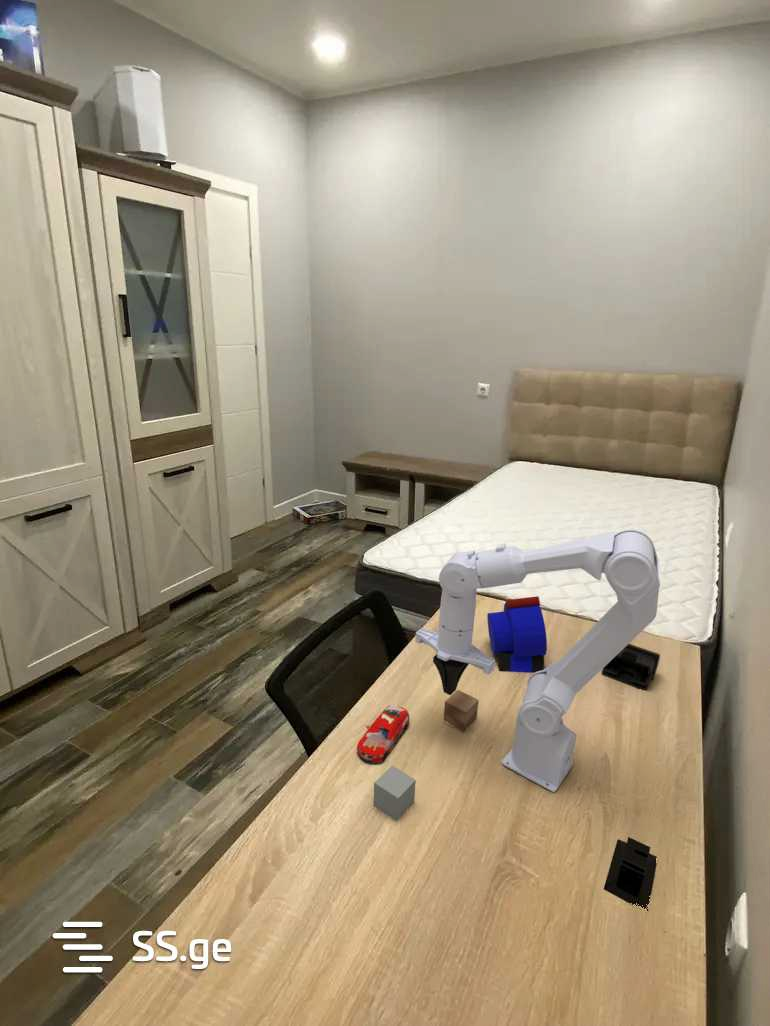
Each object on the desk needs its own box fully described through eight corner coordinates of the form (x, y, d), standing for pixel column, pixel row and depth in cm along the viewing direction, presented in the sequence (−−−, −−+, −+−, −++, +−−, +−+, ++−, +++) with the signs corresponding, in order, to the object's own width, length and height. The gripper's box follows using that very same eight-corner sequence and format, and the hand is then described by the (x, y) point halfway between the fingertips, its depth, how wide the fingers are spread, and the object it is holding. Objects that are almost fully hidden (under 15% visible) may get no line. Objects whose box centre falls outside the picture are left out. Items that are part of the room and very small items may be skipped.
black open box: (651, 929, 71) (658, 903, 70) (592, 897, 75) (597, 872, 73) (664, 854, 81) (671, 831, 80) (611, 830, 85) (617, 806, 83)
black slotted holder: (655, 676, 121) (662, 649, 119) (648, 692, 115) (654, 664, 113) (607, 659, 126) (613, 632, 124) (598, 674, 121) (604, 647, 119)
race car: (378, 771, 93) (379, 752, 92) (351, 758, 96) (351, 739, 94) (414, 723, 104) (415, 706, 103) (388, 713, 107) (389, 695, 105)
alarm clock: (546, 673, 120) (557, 611, 115) (489, 671, 120) (497, 609, 115) (533, 641, 132) (542, 584, 127) (480, 639, 132) (487, 582, 126)
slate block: (414, 802, 87) (415, 779, 86) (396, 821, 84) (398, 798, 83) (391, 787, 90) (392, 765, 88) (373, 805, 87) (374, 782, 85)
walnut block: (476, 719, 106) (478, 699, 104) (464, 732, 102) (466, 712, 101) (455, 709, 108) (457, 689, 107) (443, 721, 105) (445, 701, 103)
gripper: (406, 617, 95) (402, 684, 99) (483, 649, 87) (474, 721, 91) (430, 601, 100) (425, 666, 105) (504, 631, 92) (495, 700, 96)
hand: (449, 690), depth 98 cm, fingers closed
